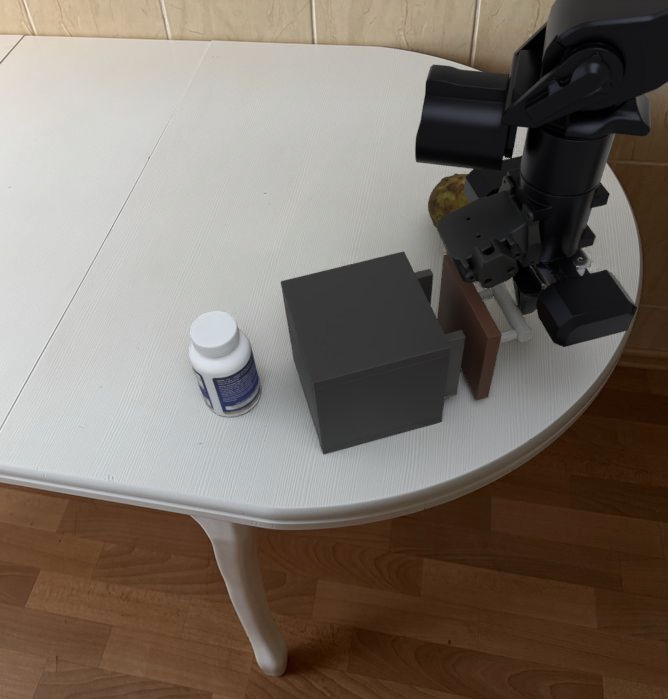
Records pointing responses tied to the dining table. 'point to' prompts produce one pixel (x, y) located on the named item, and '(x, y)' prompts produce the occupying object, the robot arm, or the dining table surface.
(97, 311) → the dining table surface
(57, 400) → the dining table surface
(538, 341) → the dining table surface
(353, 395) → the dark grey cube
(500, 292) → the drawer
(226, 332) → the pill bottle
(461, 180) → the potato
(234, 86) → the dining table surface
